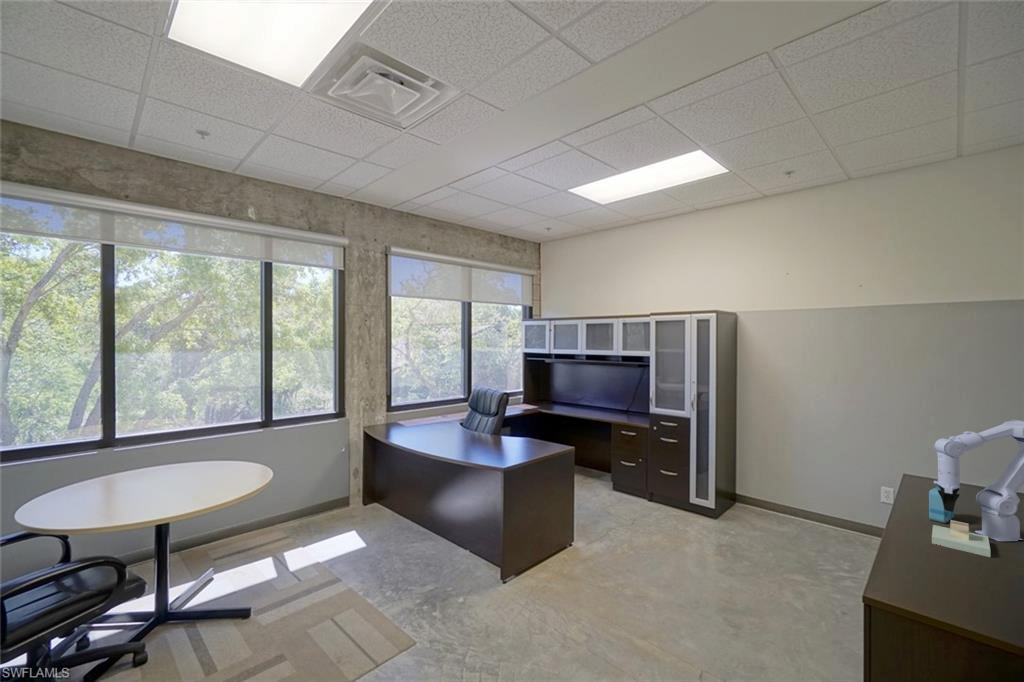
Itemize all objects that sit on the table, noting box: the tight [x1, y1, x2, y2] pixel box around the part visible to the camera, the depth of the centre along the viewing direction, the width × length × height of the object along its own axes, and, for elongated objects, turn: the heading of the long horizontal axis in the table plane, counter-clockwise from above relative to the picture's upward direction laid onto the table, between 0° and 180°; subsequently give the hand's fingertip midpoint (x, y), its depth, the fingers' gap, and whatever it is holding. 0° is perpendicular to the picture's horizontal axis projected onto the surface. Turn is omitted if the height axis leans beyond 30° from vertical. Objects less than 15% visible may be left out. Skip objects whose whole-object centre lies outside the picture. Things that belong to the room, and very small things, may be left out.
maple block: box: [949, 519, 970, 540], centre depth 154 cm, size 4×4×4 cm
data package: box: [928, 486, 955, 524], centre depth 175 cm, size 12×4×12 cm, turn 121°
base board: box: [931, 524, 991, 558], centre depth 154 cm, size 14×14×2 cm
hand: (948, 508), depth 162 cm, fingers open, 7 cm apart
